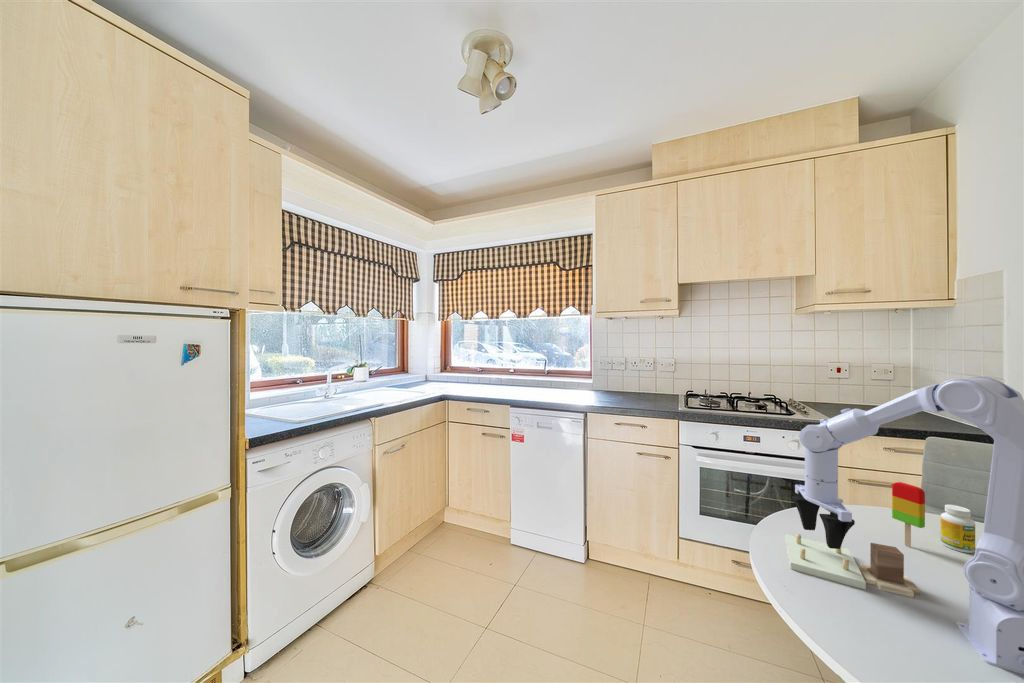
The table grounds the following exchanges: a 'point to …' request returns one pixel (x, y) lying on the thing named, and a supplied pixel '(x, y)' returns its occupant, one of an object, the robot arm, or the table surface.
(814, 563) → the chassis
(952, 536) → the supplement bottle
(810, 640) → the table surface
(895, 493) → the popsicle
